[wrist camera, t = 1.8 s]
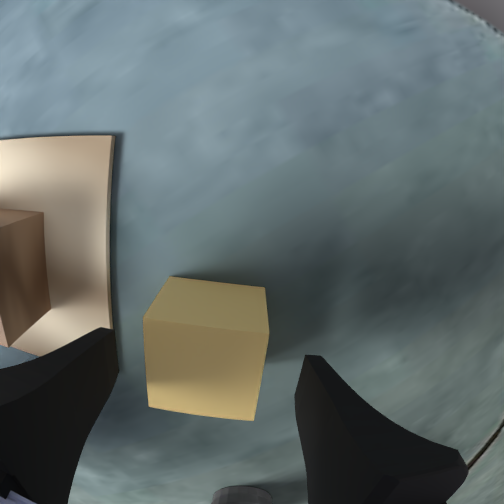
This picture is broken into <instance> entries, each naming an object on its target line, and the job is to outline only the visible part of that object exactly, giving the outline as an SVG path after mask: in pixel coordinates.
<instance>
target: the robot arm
mask: <svg viewBox="0 0 504 504" xmlns="http://www.w3.org/2000/svg"><path fill="white" fill-rule="evenodd" d="M118 373H119V367H118V359H117V350H116V340H115V330H113V329H108V328H103V327H99V328H97V329H95V330H93V331H91V332H89V333H87V334H85V335H83V336H81V337H80V338H78V339H76V340H74V341H72V342H70V343H68V344H66V345H64V346H62V347H60V348H58V349H56V350H54V351H52V352H50V353H48V354H45V355H43V356H41V357H39V358H36V359H33V360H31V361H28V362H25V363H22V364H19V365H15V366H11V367H7V368H3V369H0V504H68V498H69V494H70V490H71V486H72V482H73V478H74V474H75V471H76V468H77V465H78V461H79V458H80V455H81V453H82V450H83V447H84V444H85V442H86V439H87V437H88V435H89V433H90V431H91V429H92V427H93V425H94V423H95V421H96V420H97V418H98V416H99V414H100V412H101V410H102V409H103V407H104V405H105V403H106V401H107V399H108V398H109V396H110V394H111V392H112V389H113V387H114V384H115V382H116V379H117V376H118ZM295 412H296V421H297V426H298V431H299V436H300V441H301V445H302V450H303V455H304V460H305V466H306V472H307V486H308V504H447V503H446V501H447V500H448V499H449V498H450V497H451V496H452V495H453V494H454V493H455V492H456V491H457V489H458V488H459V487H460V486H461V485H462V484H463V482H464V481H465V479H466V477H467V475H468V467H467V465H466V464H465V462H464V460H463V458H462V457H461V455H460V453H459V452H458V450H456V449H453V448H450V447H447V446H444V445H440V444H437V443H434V442H432V441H429V440H427V439H425V438H423V437H420V436H418V435H416V434H414V433H412V432H410V431H408V430H406V429H404V428H403V427H401V426H399V425H398V424H396V423H394V422H393V421H391V420H390V419H388V418H386V417H385V416H384V415H382V414H381V413H380V412H378V411H377V410H376V409H374V408H373V407H372V406H370V405H369V404H368V403H367V402H366V401H365V400H363V399H362V398H361V397H360V396H359V395H358V394H357V393H356V392H355V391H354V390H353V389H352V388H351V387H350V386H349V385H348V384H347V383H346V382H345V381H344V380H343V379H342V378H341V377H340V376H339V375H338V374H337V373H336V372H335V370H334V369H333V368H332V367H331V366H330V365H329V364H328V363H327V362H326V360H325V359H324V358H323V357H322V356H317V355H305V358H304V362H303V365H302V369H301V373H300V377H299V381H298V385H297V388H296V392H295Z"/></svg>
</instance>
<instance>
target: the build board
mask: <svg viewBox="0 0 504 504" xmlns="http://www.w3.org/2000/svg"><path fill="white" fill-rule="evenodd" d="M114 145H115V136H54V137H35V138H21V139H9V140H0V208H2V209H14V210H25V211H37V212H44V238H45V255H46V268H47V278H48V287H49V296H50V303H51V310H50V311H48V312H47V313H46V314H45V315H44V316H43V317H42V318H40V319H39V320H38V321H37V322H36V323H35V324H34V325H32V326H31V327H30V328H29V329H28V330H27V331H26V332H25V333H24V334H23V335H21V336H20V337H19V338H18V339H17V340H16V341H15V342H14V343H13V344H12V345H11V347H14V348H16V349H19V350H22V351H25V352H28V353H31V354H34V355H36V356H40V357H41V356H43V355H45V354H48V353H50V352H52V351H54V350H56V349H58V348H60V347H62V346H64V345H66V344H68V343H70V342H72V341H74V340H76V339H78V338H80V337H81V336H83V335H85V334H87V333H89V332H91V331H93V330H95V329H97V328H99V327H103V328H108V329H113V320H112V306H111V287H110V201H111V182H112V168H113V155H114Z"/></svg>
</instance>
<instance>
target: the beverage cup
mask: <svg viewBox="0 0 504 504" xmlns="http://www.w3.org/2000/svg"><path fill="white" fill-rule="evenodd" d="M211 504H272V497H271V496H270V494H269V493H268V492H266V491H265V490H262V489H259V488H255V487H249V486H233V487H227V488H223V489H220V490H218V491H216V492H215V493H214V495H213V501H212V503H211Z"/></svg>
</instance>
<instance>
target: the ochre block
mask: <svg viewBox="0 0 504 504" xmlns="http://www.w3.org/2000/svg"><path fill="white" fill-rule="evenodd" d="M143 333H144V353H145V368H146V381H147V393H148V403H149V407H153V408H158V409H164V410H169V411H175V412H181V413H188V414H194V415H202V416H209V417H218V418H227V419H237V420H248V421H254V416H255V411H256V406H257V401H258V395H259V390H260V384H261V379H262V373H263V368H264V362H265V356H266V351H267V345H268V339H269V324H268V314H267V304H266V294H265V287H256V286H247V285H238V284H229V283H221V282H212V281H204V280H196V279H188V278H180V277H172V276H169V278H168V279H167V281H166V282H165V284H164V285H163V287H162V289H161V290H160V292H159V293H158V295H157V296H156V298H155V299H154V301H153V302H152V304H151V305H150V307H149V309H148V310H147V312H146V313H145V315H144V316H143Z"/></svg>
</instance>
